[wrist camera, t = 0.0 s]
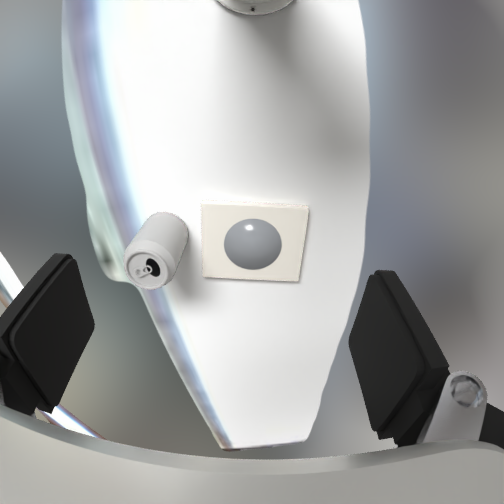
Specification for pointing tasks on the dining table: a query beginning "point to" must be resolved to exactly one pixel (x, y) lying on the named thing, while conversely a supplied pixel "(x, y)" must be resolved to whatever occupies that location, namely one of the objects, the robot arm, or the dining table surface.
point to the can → (156, 251)
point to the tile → (252, 240)
